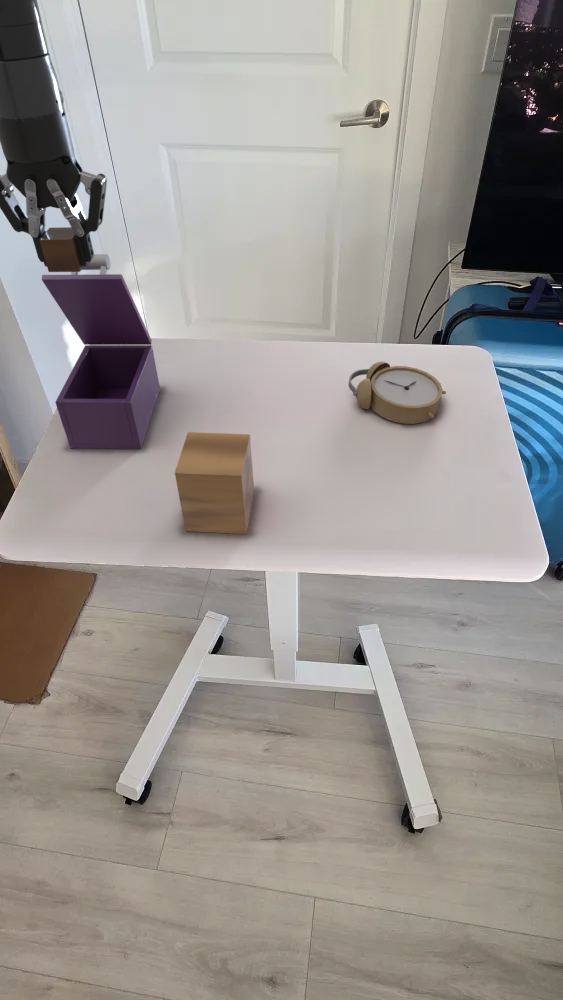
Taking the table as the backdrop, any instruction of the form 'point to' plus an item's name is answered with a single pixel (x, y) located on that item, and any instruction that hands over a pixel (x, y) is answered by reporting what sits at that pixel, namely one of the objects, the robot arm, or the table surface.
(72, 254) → the block
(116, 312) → the lid
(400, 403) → the alarm clock
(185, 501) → the stand
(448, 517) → the table surface
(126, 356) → the box
